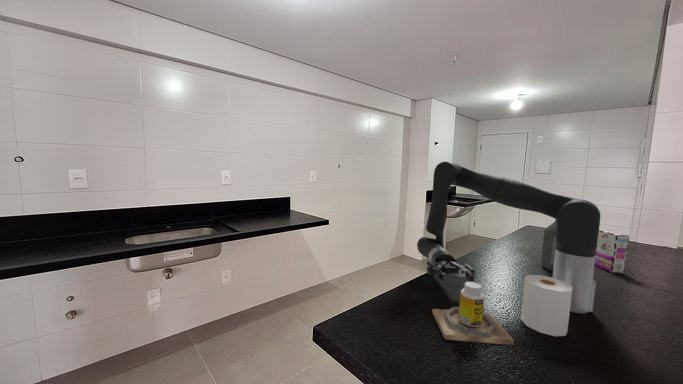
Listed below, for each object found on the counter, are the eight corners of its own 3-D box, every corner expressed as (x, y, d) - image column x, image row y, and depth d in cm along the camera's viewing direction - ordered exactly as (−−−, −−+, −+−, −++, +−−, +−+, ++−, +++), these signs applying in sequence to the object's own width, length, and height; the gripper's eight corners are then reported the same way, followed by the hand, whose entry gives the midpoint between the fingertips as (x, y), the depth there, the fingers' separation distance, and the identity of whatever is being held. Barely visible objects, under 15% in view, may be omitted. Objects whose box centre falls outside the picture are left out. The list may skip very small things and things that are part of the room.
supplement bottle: (474, 330, 67) (477, 291, 66) (454, 319, 71) (456, 282, 70) (486, 324, 70) (489, 286, 69) (466, 314, 74) (469, 278, 73)
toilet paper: (571, 342, 66) (577, 294, 65) (520, 327, 71) (525, 283, 70) (564, 322, 74) (569, 280, 73) (519, 310, 80) (523, 271, 79)
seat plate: (490, 317, 76) (490, 308, 76) (513, 344, 64) (514, 335, 64) (432, 312, 77) (432, 304, 77) (444, 339, 65) (445, 330, 65)
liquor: (575, 273, 111) (584, 201, 108) (553, 272, 111) (561, 200, 108) (558, 265, 120) (565, 198, 117) (537, 264, 120) (544, 198, 117)
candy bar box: (625, 274, 112) (630, 235, 110) (611, 273, 112) (616, 234, 111) (603, 264, 123) (607, 229, 121) (591, 263, 124) (595, 228, 122)
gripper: (422, 248, 97) (433, 265, 81) (462, 251, 96) (482, 268, 80) (420, 268, 98) (432, 289, 82) (461, 271, 96) (480, 292, 80)
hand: (457, 278), depth 81 cm, fingers open, 8 cm apart
